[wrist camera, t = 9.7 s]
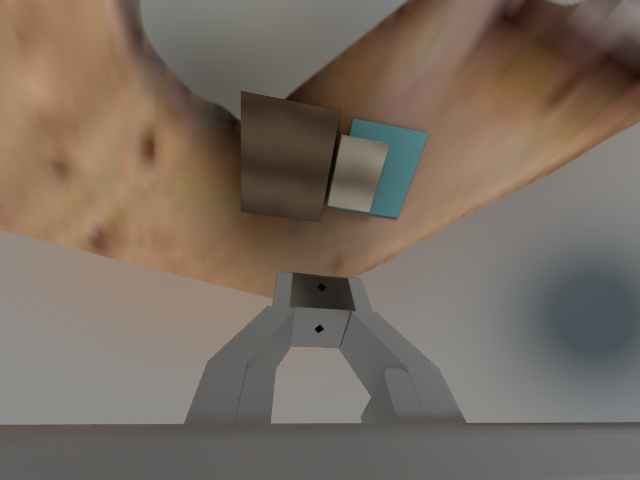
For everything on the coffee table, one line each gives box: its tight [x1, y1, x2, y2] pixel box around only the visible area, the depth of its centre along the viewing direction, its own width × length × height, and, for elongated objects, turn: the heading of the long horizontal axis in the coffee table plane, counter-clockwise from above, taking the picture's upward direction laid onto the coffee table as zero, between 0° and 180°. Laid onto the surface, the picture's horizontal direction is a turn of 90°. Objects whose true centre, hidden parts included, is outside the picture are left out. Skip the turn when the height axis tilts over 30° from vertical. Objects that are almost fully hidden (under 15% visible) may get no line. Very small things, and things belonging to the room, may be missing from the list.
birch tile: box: [327, 134, 389, 212], centre depth 30 cm, size 9×6×2 cm, turn 170°
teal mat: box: [334, 118, 428, 218], centre depth 32 cm, size 12×10×1 cm
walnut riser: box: [241, 91, 340, 222], centre depth 29 cm, size 14×11×2 cm
